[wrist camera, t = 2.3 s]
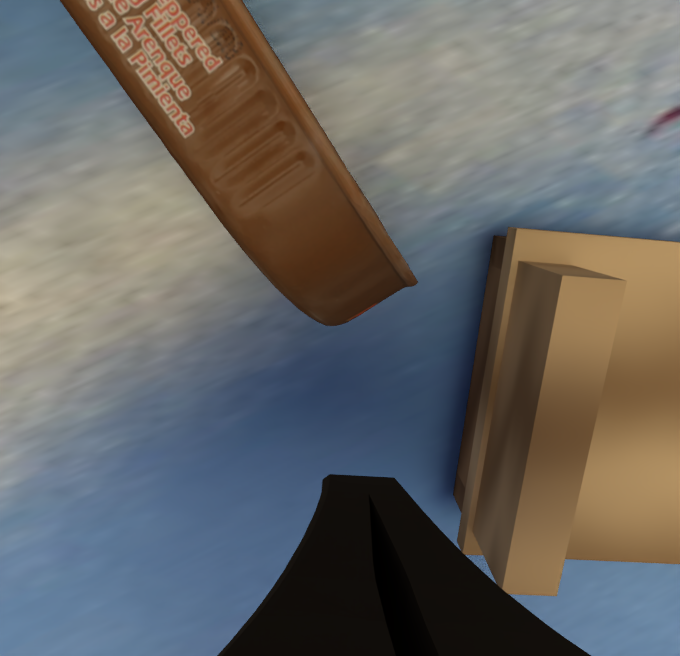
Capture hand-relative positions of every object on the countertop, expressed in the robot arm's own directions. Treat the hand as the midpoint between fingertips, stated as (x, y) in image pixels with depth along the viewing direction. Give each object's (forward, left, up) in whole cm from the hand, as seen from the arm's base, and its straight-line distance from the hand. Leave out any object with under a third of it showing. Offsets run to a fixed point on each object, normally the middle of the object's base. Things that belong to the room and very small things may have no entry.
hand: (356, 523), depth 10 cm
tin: (+9, +4, -10) cm, 14 cm away
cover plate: (0, -13, -7) cm, 15 cm away
